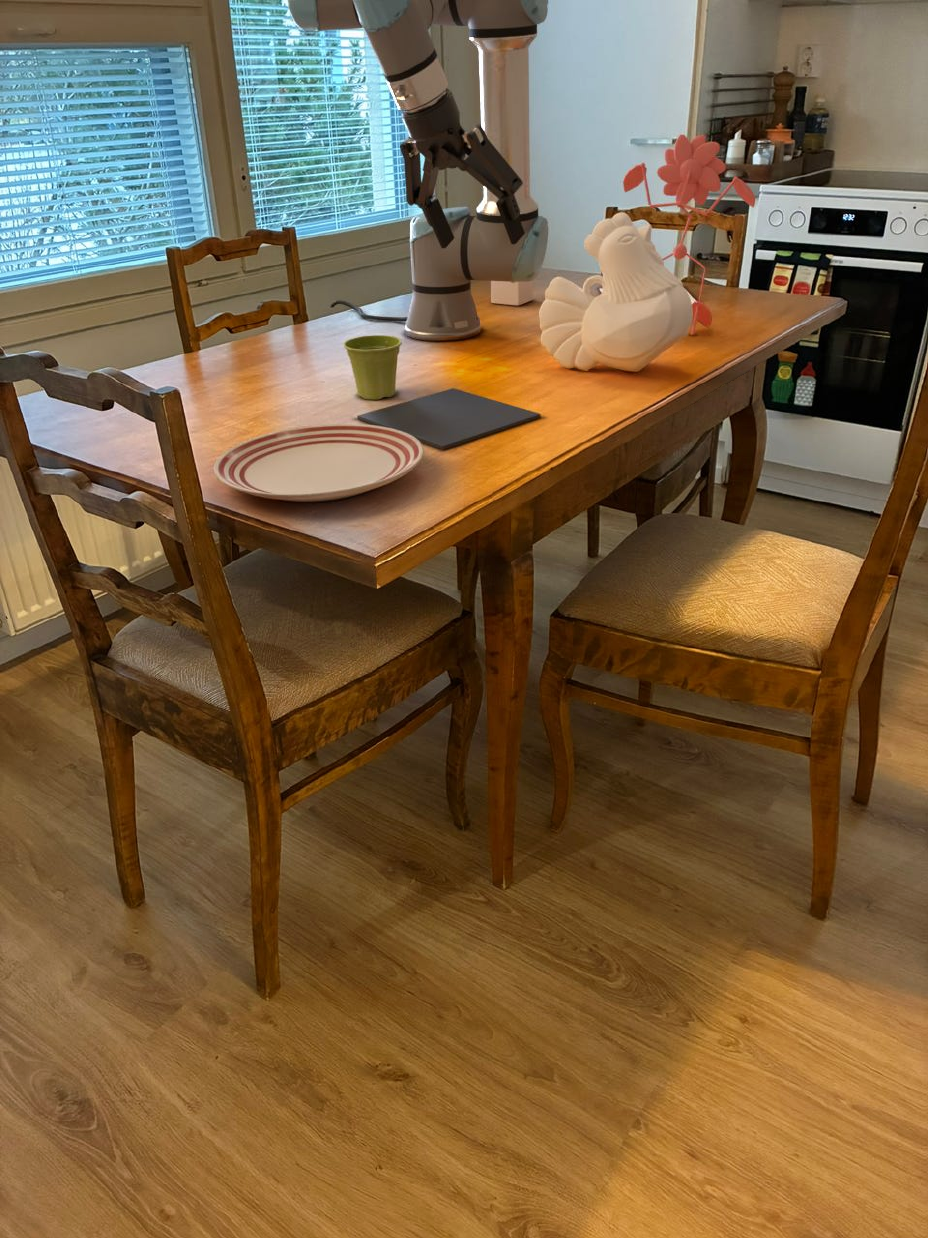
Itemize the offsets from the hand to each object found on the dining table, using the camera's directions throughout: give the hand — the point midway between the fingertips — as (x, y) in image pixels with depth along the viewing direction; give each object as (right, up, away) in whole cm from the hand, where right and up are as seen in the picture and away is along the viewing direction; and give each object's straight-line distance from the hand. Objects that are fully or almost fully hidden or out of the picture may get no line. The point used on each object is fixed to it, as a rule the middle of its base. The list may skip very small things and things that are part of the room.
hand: (482, 241), depth 144 cm
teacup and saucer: (+40, +18, +77) cm, 89 cm away
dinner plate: (-22, -38, -16) cm, 47 cm away
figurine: (+41, +3, +52) cm, 66 cm away
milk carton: (+8, +16, +75) cm, 77 cm away
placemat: (-5, -26, +3) cm, 27 cm away
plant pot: (-17, -20, +15) cm, 30 cm away
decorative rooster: (+24, -12, +26) cm, 37 cm away
